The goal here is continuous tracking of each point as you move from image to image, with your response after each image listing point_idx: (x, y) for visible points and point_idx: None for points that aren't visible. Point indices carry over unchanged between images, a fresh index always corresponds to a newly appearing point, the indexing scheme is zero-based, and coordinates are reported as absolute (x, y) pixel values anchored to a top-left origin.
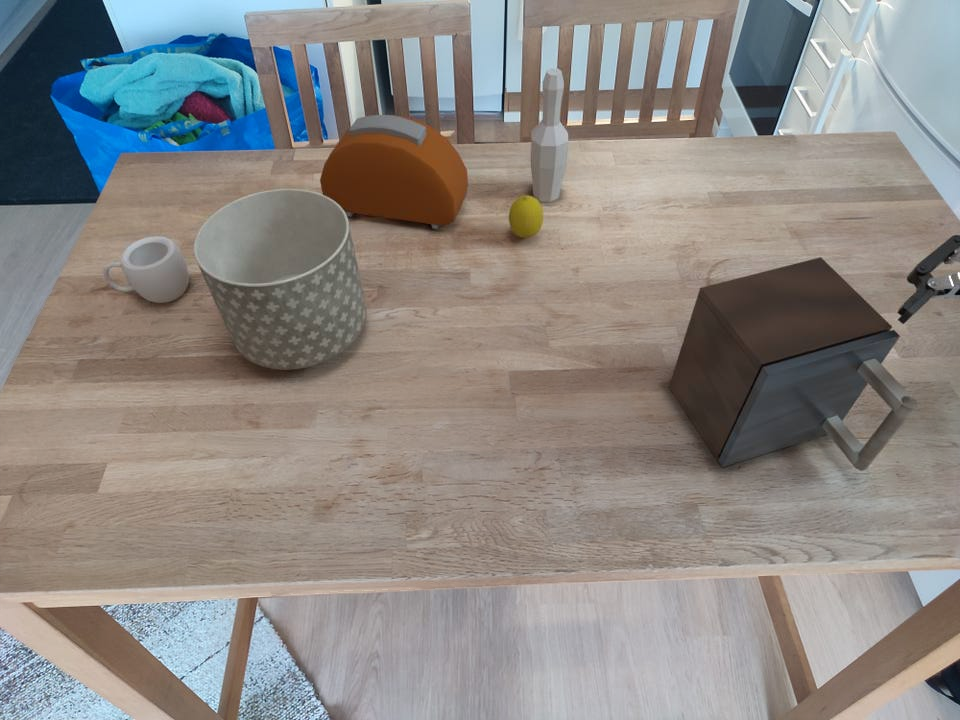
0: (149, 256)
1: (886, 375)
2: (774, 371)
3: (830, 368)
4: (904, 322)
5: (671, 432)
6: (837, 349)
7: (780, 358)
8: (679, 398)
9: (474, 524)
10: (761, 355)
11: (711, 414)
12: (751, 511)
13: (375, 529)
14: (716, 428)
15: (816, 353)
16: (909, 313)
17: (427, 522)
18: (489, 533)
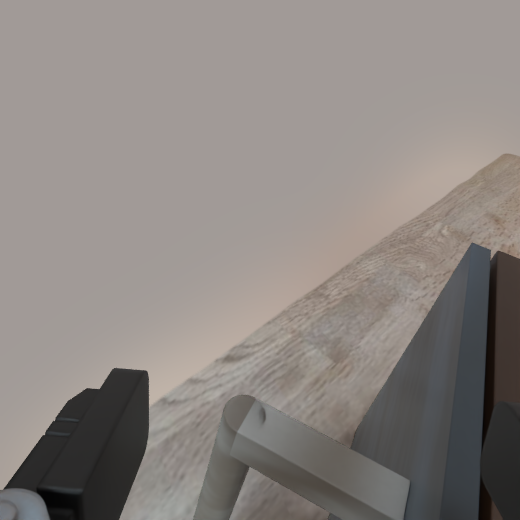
0: None
1: (337, 468)
2: (473, 249)
3: (432, 384)
4: (484, 449)
5: None
6: (474, 356)
7: (497, 271)
8: None
9: (435, 250)
10: (517, 263)
11: None
12: (282, 393)
13: (464, 222)
14: None
15: (482, 321)
16: (515, 402)
17: (453, 238)
18: (421, 249)
